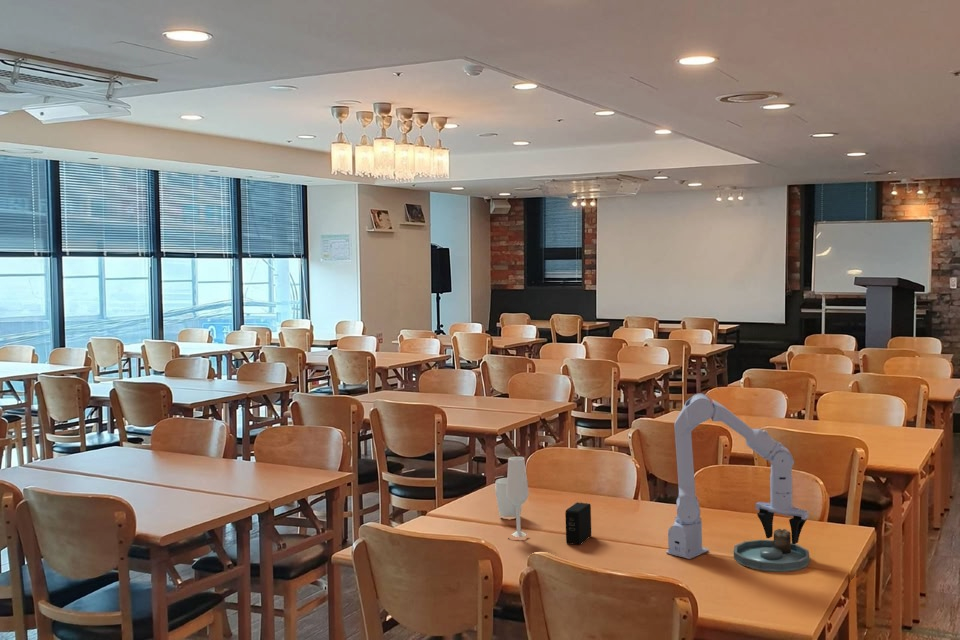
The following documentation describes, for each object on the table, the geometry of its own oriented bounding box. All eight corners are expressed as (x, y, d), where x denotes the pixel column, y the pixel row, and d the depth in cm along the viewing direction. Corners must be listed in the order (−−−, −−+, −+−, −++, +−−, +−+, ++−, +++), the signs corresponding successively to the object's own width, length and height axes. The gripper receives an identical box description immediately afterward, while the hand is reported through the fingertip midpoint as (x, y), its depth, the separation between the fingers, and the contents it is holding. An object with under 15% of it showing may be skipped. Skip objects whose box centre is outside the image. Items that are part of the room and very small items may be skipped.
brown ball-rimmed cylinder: (785, 555, 244) (785, 533, 243) (770, 551, 247) (770, 530, 247) (793, 551, 247) (793, 530, 246) (779, 547, 250) (778, 527, 250)
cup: (491, 516, 293) (490, 479, 293) (516, 511, 297) (515, 476, 296) (503, 523, 285) (502, 485, 284) (529, 518, 289) (527, 481, 288)
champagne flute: (534, 538, 269) (532, 458, 267) (515, 542, 265) (513, 462, 264) (521, 532, 275) (519, 454, 273) (503, 536, 271) (500, 458, 269)
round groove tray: (786, 577, 229) (785, 568, 229) (720, 560, 244) (720, 552, 243) (822, 558, 242) (822, 550, 242) (757, 543, 257) (757, 535, 256)
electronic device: (565, 544, 262) (564, 510, 262) (578, 534, 271) (577, 501, 270) (579, 545, 260) (578, 511, 260) (591, 535, 269) (590, 502, 268)
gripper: (813, 492, 243) (814, 542, 244) (764, 484, 254) (765, 531, 255) (800, 498, 238) (801, 548, 239) (751, 489, 249) (752, 537, 250)
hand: (782, 540), depth 247 cm, fingers open, 7 cm apart
